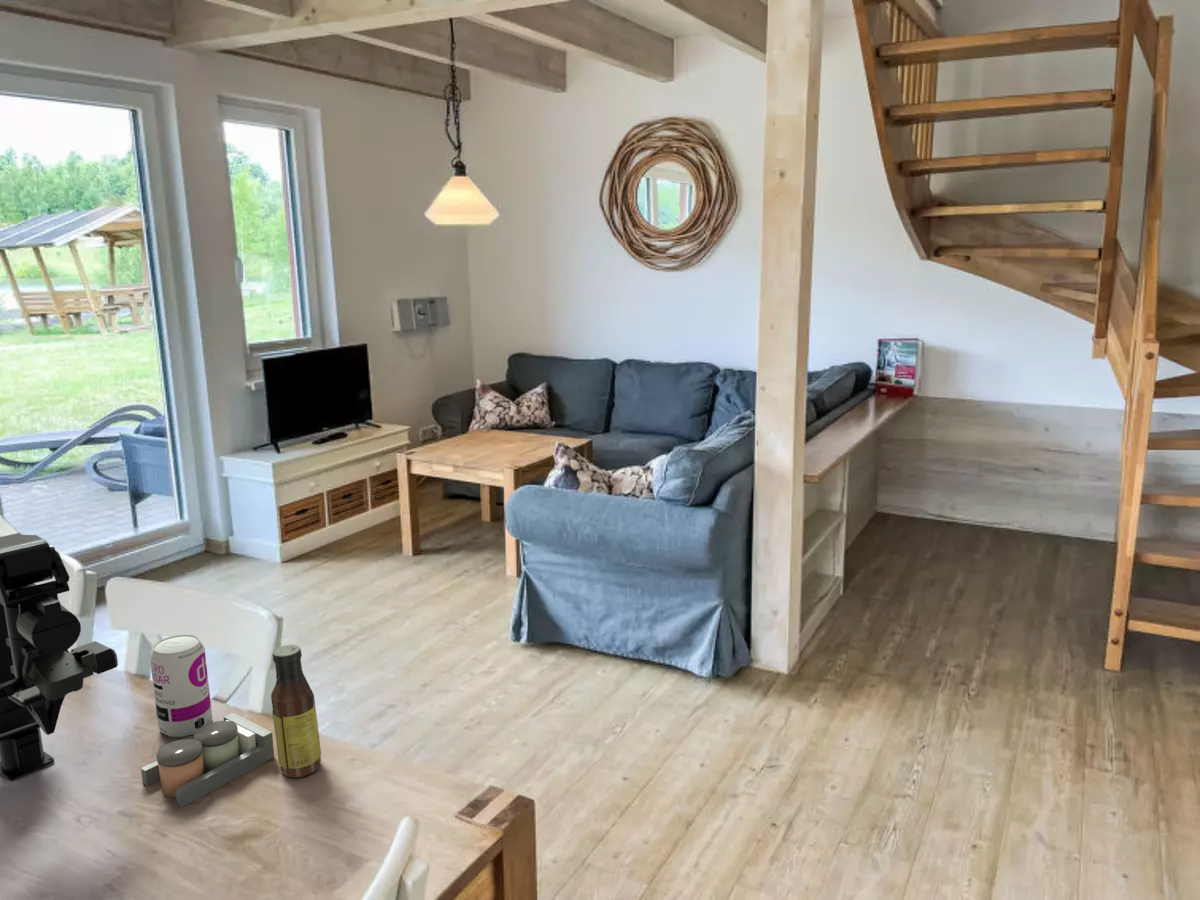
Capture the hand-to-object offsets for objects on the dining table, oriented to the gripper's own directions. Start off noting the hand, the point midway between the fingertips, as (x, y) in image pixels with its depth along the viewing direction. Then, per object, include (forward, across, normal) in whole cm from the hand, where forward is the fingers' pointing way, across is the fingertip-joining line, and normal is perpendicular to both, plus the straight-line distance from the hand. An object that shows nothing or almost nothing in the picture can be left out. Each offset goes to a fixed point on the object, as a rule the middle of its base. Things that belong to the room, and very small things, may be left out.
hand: (49, 733), depth 128 cm
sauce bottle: (+12, +26, -20) cm, 35 cm away
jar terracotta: (+12, +13, -9) cm, 20 cm away
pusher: (+12, +23, -9) cm, 27 cm away
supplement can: (+12, +23, +6) cm, 27 cm away
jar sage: (+12, +19, -9) cm, 24 cm away
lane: (+12, +17, -9) cm, 23 cm away
